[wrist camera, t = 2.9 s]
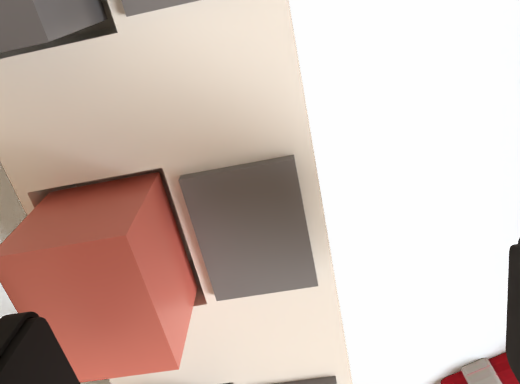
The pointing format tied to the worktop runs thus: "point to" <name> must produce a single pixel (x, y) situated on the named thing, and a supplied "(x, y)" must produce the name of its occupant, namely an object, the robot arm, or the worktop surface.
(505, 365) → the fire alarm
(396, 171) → the worktop surface
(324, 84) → the worktop surface
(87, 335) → the button
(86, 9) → the button
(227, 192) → the button panel
